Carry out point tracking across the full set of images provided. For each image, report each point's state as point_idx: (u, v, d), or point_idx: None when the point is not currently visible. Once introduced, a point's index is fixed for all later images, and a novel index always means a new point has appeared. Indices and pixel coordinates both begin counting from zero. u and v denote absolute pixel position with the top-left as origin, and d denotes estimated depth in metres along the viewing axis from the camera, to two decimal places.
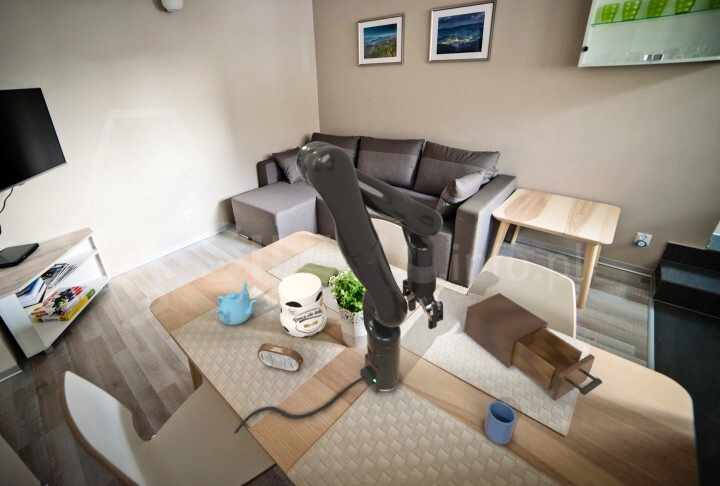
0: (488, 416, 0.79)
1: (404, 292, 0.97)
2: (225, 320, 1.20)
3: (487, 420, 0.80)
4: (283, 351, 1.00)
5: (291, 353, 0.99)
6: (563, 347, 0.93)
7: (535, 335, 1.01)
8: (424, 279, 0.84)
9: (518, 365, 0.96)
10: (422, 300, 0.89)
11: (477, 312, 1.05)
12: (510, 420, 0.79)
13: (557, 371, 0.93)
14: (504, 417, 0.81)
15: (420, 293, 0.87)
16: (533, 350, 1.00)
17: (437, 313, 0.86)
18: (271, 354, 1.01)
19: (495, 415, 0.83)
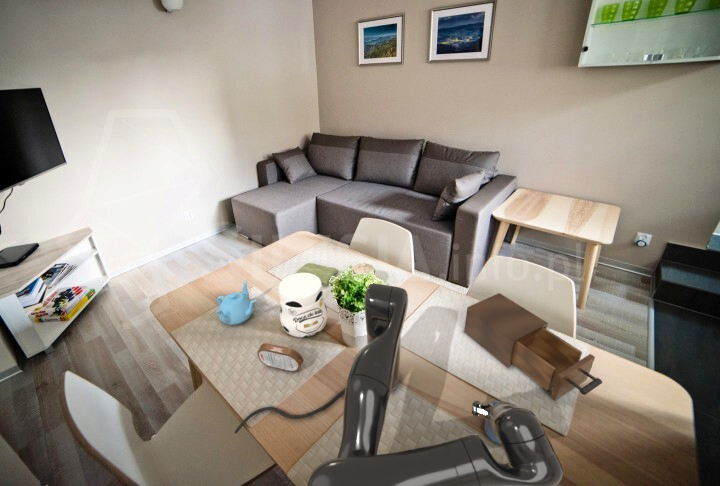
0: None
1: None
2: (225, 320, 1.20)
3: (487, 420, 0.80)
4: (283, 351, 1.00)
5: (291, 353, 0.99)
6: (563, 347, 0.93)
7: (535, 335, 1.01)
8: None
9: (518, 365, 0.96)
10: None
11: (477, 312, 1.05)
12: None
13: (557, 371, 0.93)
14: None
15: None
16: (533, 350, 1.00)
17: None
18: (271, 354, 1.01)
19: None
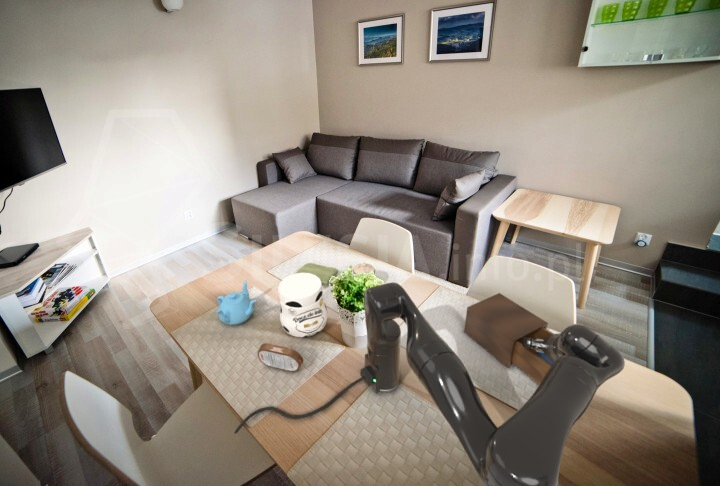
0: (539, 352, 0.92)
1: None
2: (225, 320, 1.20)
3: None
4: (283, 351, 1.00)
5: (291, 353, 0.99)
6: None
7: (535, 335, 1.01)
8: None
9: (518, 365, 0.96)
10: None
11: (477, 312, 1.05)
12: None
13: None
14: None
15: None
16: (533, 350, 1.00)
17: None
18: (271, 354, 1.01)
19: None
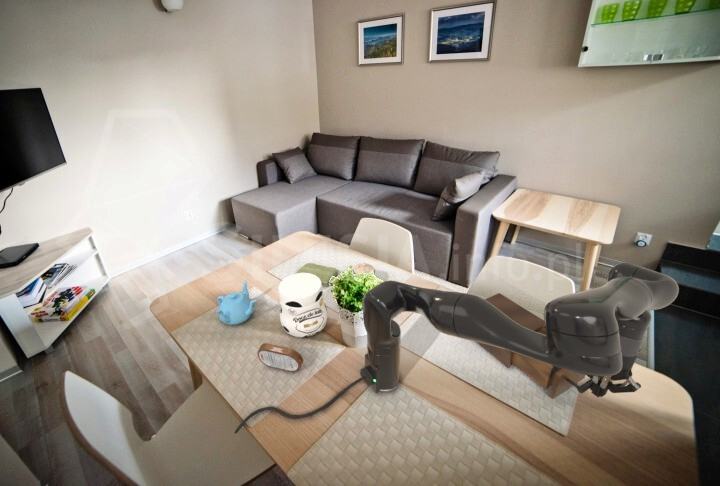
0: None
1: None
2: (225, 320, 1.20)
3: None
4: (283, 351, 1.00)
5: (291, 353, 0.99)
6: None
7: None
8: (631, 352, 0.72)
9: (516, 364, 0.96)
10: None
11: None
12: None
13: None
14: None
15: None
16: None
17: None
18: (271, 354, 1.01)
19: None
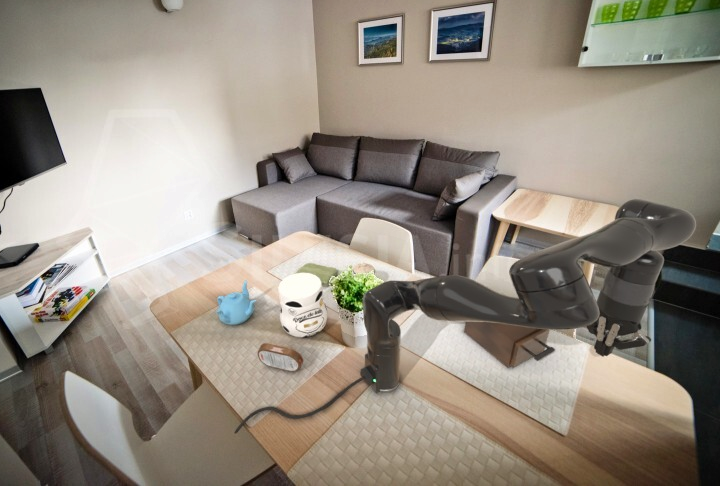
0: None
1: (590, 327, 0.75)
2: (225, 320, 1.20)
3: None
4: (283, 351, 1.00)
5: (291, 353, 0.99)
6: None
7: None
8: (640, 300, 0.64)
9: None
10: (621, 327, 0.69)
11: None
12: None
13: None
14: None
15: (627, 318, 0.66)
16: None
17: (634, 346, 0.68)
18: (271, 354, 1.01)
19: None
